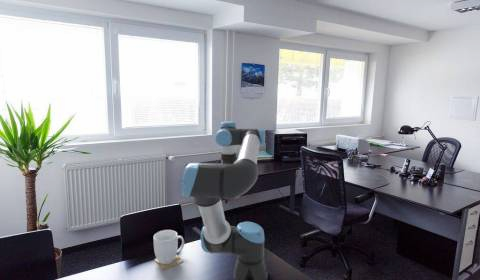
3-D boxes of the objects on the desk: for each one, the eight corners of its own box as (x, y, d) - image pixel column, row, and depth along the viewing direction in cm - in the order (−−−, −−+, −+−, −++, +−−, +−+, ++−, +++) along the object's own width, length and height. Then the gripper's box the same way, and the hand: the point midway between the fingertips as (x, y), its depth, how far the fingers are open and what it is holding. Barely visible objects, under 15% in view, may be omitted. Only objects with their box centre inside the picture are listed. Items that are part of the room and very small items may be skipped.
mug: (178, 249, 152) (178, 225, 150) (189, 258, 144) (189, 233, 142) (150, 259, 143) (149, 234, 141) (160, 270, 135) (159, 243, 132)
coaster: (183, 262, 142) (183, 260, 142) (163, 270, 136) (163, 268, 136) (173, 253, 150) (173, 251, 150) (154, 260, 144) (154, 259, 144)
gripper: (250, 156, 141) (250, 198, 145) (220, 147, 160) (220, 185, 164) (238, 158, 136) (238, 202, 140) (208, 149, 155) (209, 188, 159)
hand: (228, 193), depth 152 cm, fingers open, 13 cm apart
